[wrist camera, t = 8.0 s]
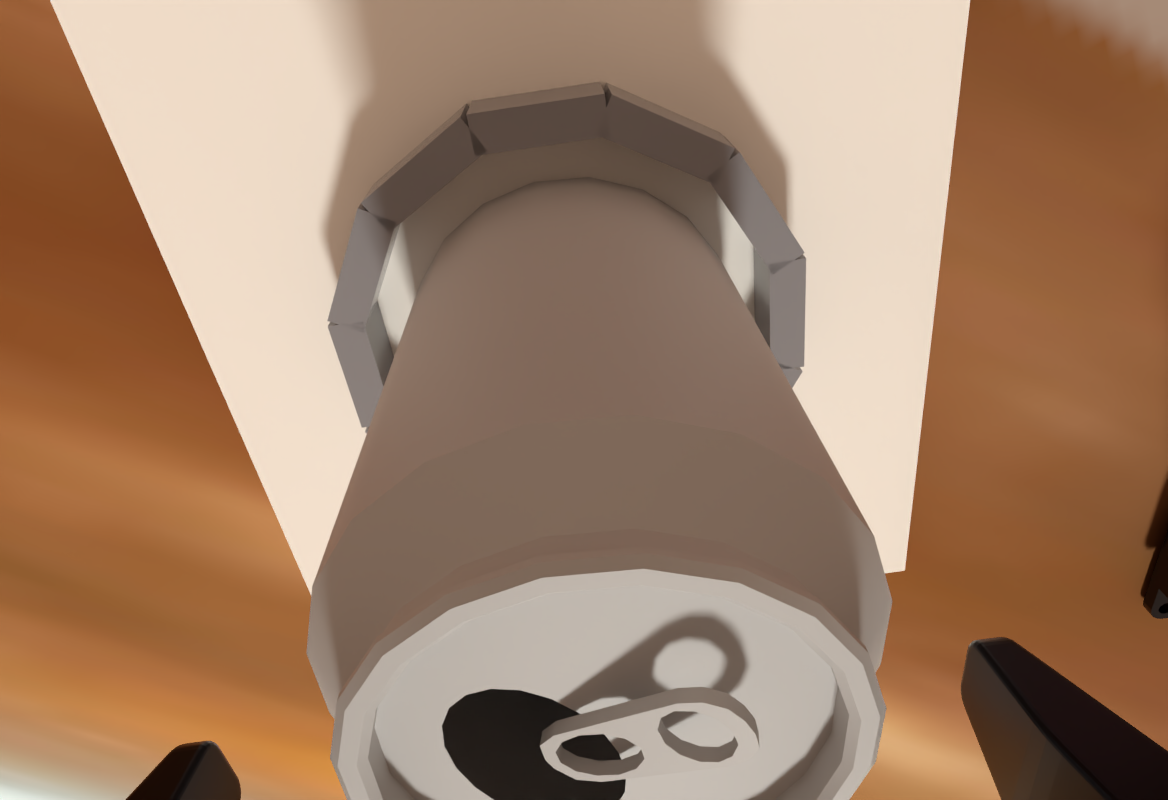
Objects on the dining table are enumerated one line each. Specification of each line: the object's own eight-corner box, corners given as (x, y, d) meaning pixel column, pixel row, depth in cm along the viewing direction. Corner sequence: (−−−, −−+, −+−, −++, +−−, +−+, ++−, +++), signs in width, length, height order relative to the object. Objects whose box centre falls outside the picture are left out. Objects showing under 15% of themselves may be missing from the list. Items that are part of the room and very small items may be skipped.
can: (354, 276, 18) (100, 731, 8) (632, 97, 16) (787, 373, 6) (530, 489, 21) (520, 999, 11) (775, 361, 20) (1033, 826, 9)
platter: (973, -257, 14) (1049, -292, 12) (891, 548, 24) (925, 606, 22) (33, -107, 15) (-54, -116, 13) (340, 621, 25) (321, 684, 23)
